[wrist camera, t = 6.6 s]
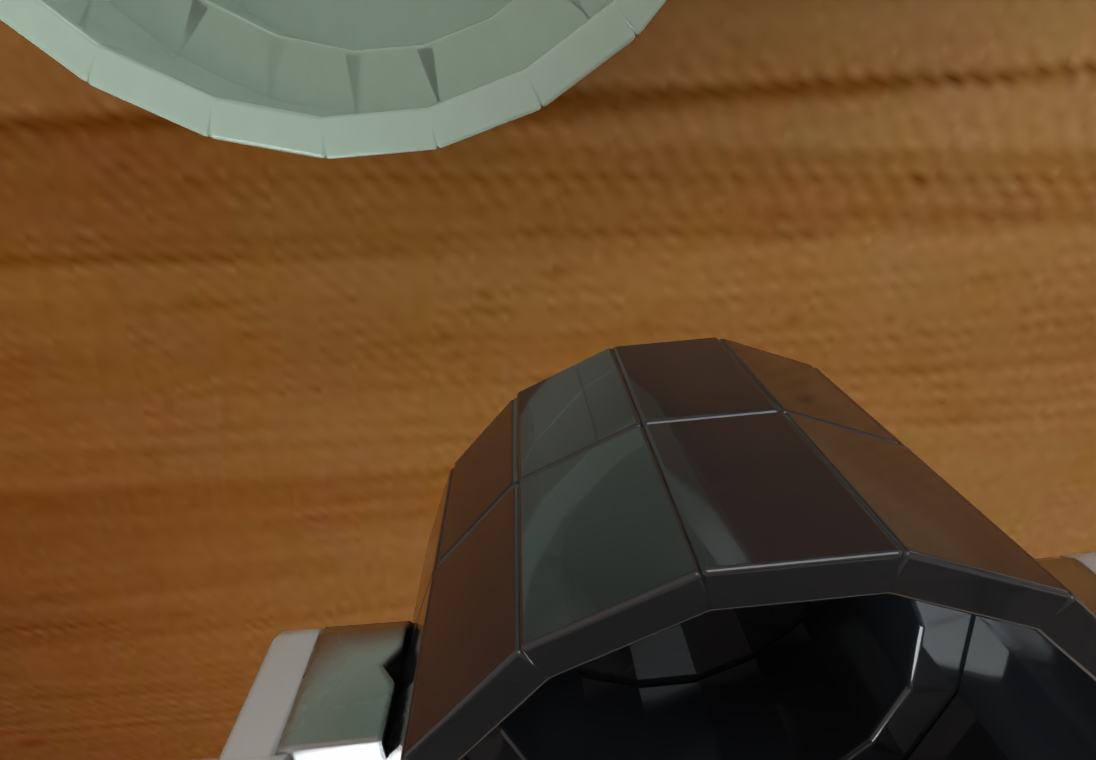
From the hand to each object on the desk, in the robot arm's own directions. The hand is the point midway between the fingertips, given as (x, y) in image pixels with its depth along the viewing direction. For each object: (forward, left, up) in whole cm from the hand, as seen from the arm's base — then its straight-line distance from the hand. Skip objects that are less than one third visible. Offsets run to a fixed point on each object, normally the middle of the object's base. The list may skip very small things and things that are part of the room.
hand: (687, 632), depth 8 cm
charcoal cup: (0, 0, -2) cm, 2 cm away
